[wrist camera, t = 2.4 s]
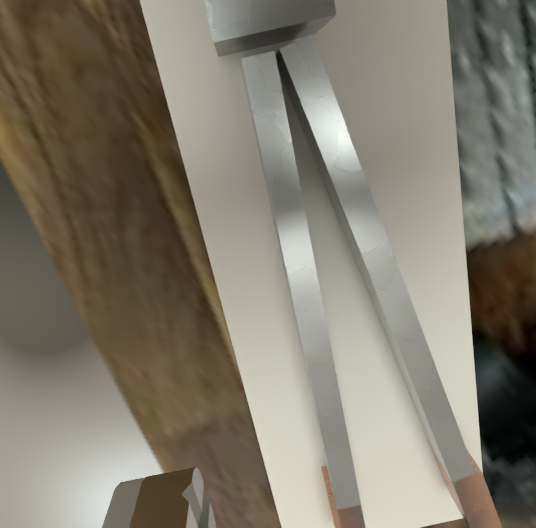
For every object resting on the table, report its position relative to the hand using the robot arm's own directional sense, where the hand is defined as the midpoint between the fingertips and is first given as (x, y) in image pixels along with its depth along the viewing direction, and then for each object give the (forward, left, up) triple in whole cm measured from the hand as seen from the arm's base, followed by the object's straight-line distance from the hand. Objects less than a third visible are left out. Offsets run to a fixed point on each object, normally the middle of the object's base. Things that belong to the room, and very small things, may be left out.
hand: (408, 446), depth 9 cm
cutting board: (+3, +1, -15) cm, 15 cm away
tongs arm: (+4, +3, -13) cm, 14 cm away
